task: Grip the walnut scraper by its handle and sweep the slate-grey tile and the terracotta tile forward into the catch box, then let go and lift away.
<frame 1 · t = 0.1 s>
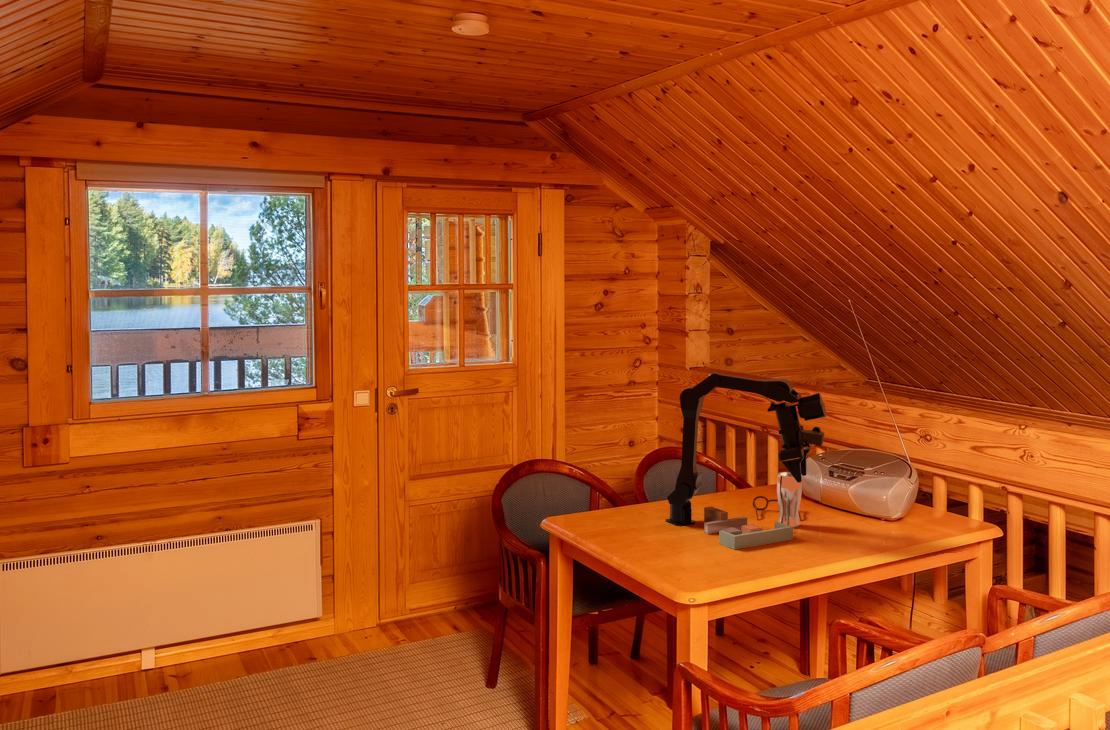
hand: (802, 478, 275), 15 cm above the table, tool pointing down, fingers open, 9 cm apart
scraper: (720, 528, 282), on the table
beer glass: (788, 526, 285), on the table
terracotta tile: (751, 535, 275), on the table
catch box: (756, 541, 268), on the table
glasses: (776, 517, 297), on the table
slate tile: (731, 538, 272), on the table
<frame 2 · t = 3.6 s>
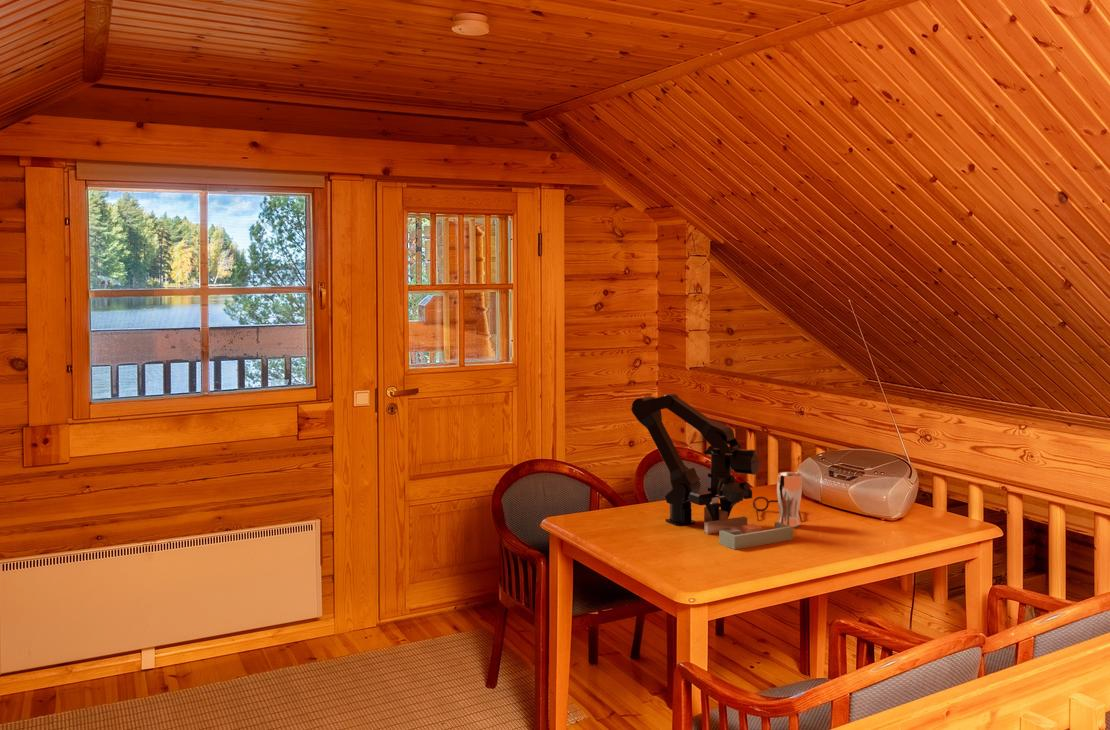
hand: (720, 524, 282), 1 cm above the table, tool pointing down, fingers closed on scraper, 2 cm apart
scraper: (720, 528, 282), on the table, touching gripper
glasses: (777, 518, 296), on the table
everything else where it was.
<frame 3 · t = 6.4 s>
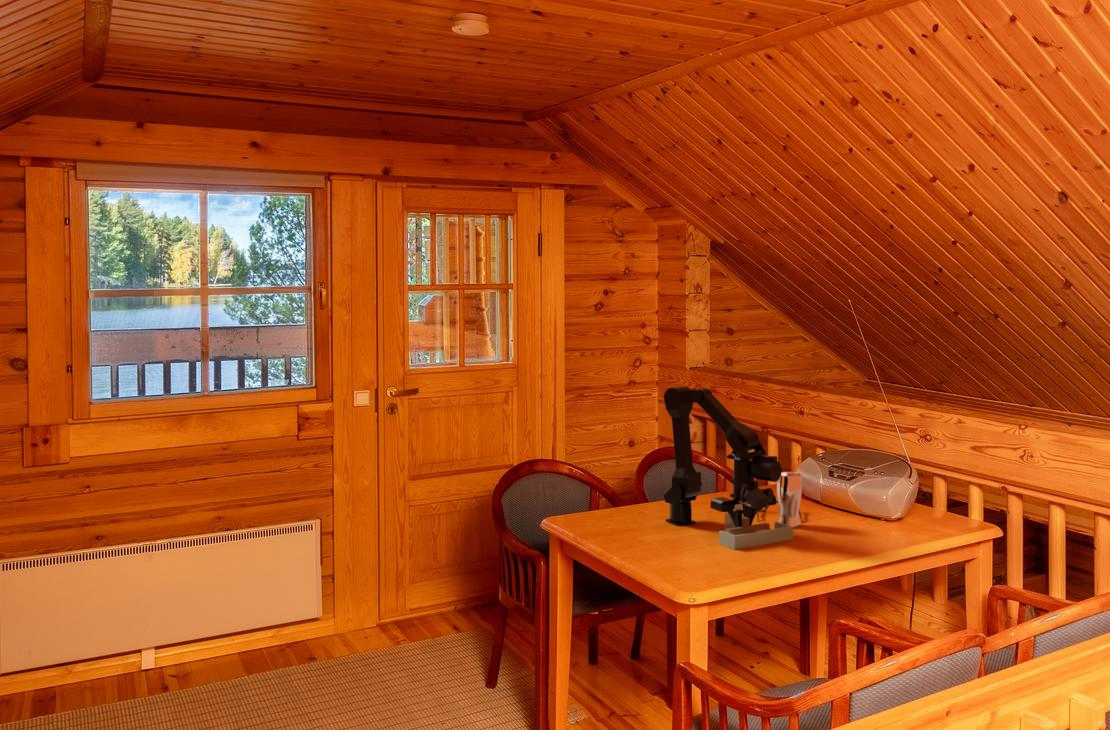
hand: (743, 532, 273), 1 cm above the table, tool pointing down, fingers closed on scraper, 2 cm apart
scraper: (741, 535, 274), on the table, touching gripper
terracotta tile: (764, 540, 271), on the table
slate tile: (744, 543, 267), on the table
when the fingers open (1 cm above the table, at t = 7.2 s): scraper stays where it is, on the table.
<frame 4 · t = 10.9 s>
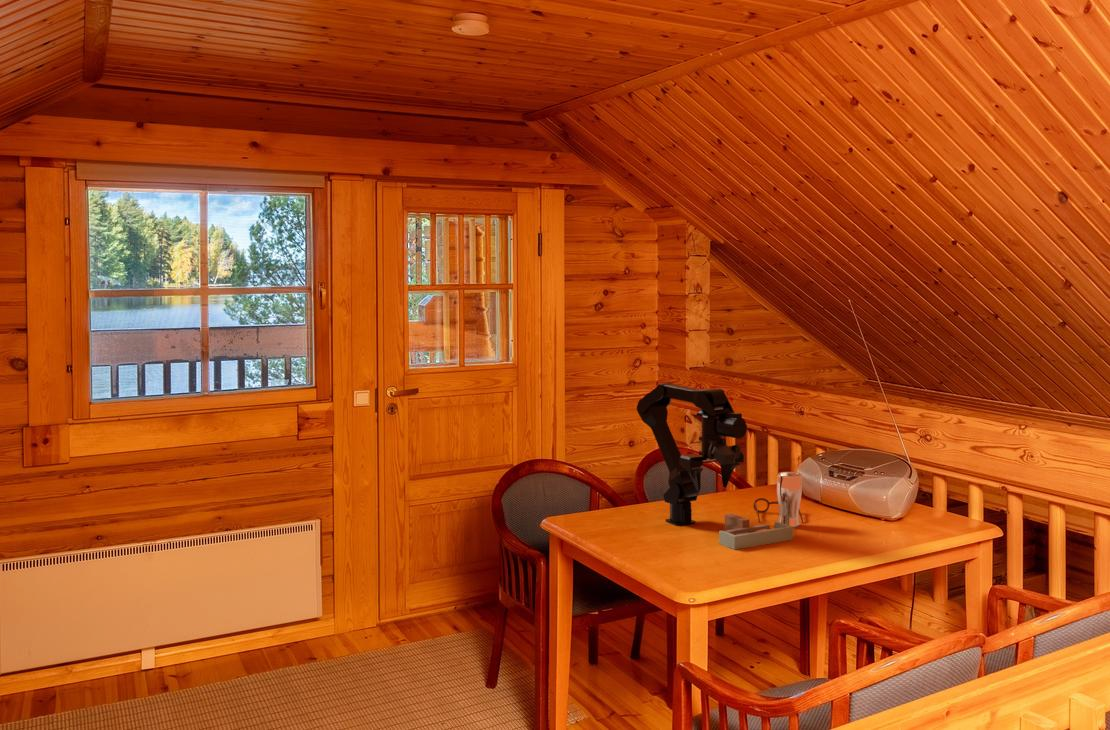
hand: (711, 489, 278), 12 cm above the table, tool pointing down, fingers open, 9 cm apart
scraper: (741, 536, 274), on the table
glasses: (778, 519, 294), on the table
everything else where it was.
at the end: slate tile inside the target area (3.5 cm from its centre), on the table; terracotta tile inside the target area (3.6 cm from its centre), on the table; the gripper is holding nothing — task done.
